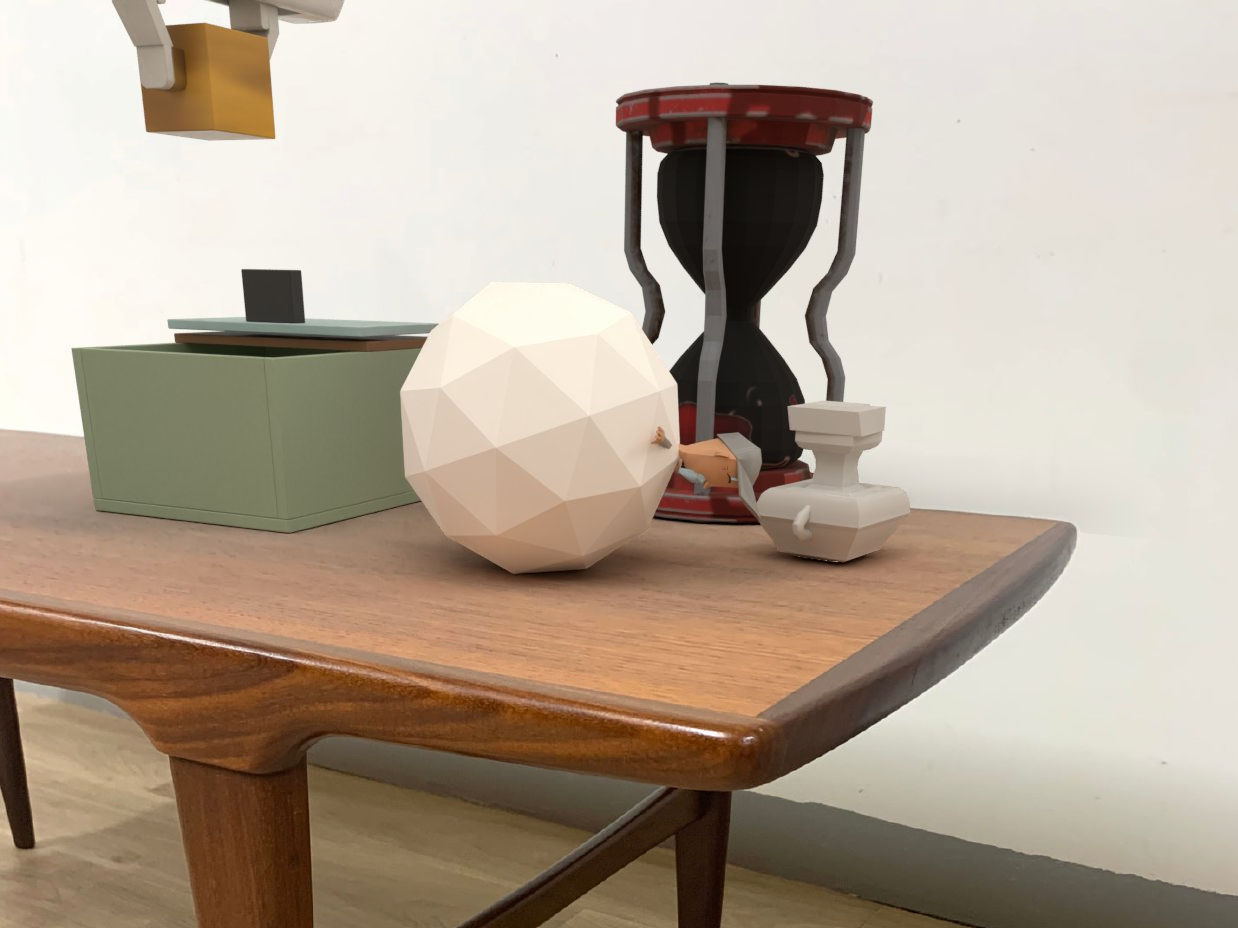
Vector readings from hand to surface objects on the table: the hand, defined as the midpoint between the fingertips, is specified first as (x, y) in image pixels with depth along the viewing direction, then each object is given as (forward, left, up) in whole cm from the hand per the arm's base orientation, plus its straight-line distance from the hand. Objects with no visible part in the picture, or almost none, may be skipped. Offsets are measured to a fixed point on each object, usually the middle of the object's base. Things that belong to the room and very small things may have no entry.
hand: (206, 97), depth 66 cm
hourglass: (+19, +28, -23) cm, 41 cm away
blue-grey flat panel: (-8, +17, -12) cm, 22 cm away
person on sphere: (+20, +3, -23) cm, 30 cm away
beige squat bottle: (+31, +14, -23) cm, 41 cm away
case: (-8, +13, -23) cm, 27 cm away
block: (0, 0, -2) cm, 2 cm away
